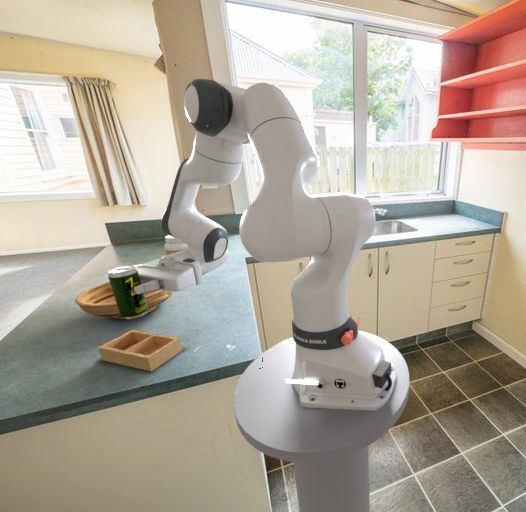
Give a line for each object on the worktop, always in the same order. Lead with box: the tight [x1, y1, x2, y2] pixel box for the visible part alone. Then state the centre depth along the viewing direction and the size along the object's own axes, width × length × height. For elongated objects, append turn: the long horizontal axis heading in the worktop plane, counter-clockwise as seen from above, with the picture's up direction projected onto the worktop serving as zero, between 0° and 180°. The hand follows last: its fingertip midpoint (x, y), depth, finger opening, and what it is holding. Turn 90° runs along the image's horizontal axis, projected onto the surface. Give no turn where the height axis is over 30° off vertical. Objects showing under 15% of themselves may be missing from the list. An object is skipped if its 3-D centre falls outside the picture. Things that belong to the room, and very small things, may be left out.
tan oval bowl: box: [74, 280, 174, 320], centre depth 94 cm, size 30×24×8 cm
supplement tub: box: [163, 234, 188, 256], centre depth 123 cm, size 12×12×17 cm
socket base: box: [97, 329, 183, 372], centre depth 73 cm, size 15×8×4 cm, turn 75°
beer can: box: [107, 265, 149, 320], centre depth 71 cm, size 5×5×12 cm
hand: (123, 289), depth 70 cm, fingers closed on beer can, 5 cm apart
